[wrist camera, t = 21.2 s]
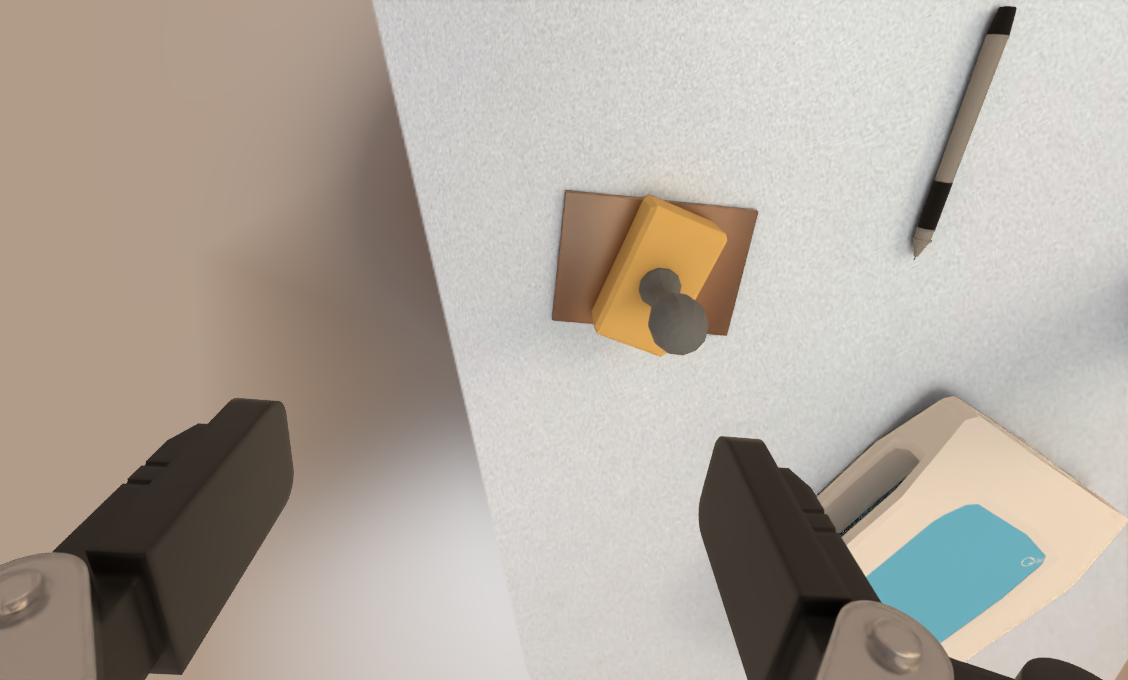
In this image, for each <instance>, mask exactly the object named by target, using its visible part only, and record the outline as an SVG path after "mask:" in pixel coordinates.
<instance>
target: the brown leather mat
mask: <svg viewBox="0 0 1128 680" xmlns="http://www.w3.org/2000/svg"><path fill="white" fill-rule="evenodd" d="M643 199H644V198H637V197H627V196H618V195H608V194H598V193H588V192H579V191H569V190H566V191H565V200H564V210H563V220H562V229H561V239H560V248H559V258H558V268H557V277H556V287H555V296H554V306H553V316H552V320H555V321H566V322H577V323H589V324H594V323H593V317H592V309H593V307H594V305H595V302H596V300H597V298H598V296H599V294H600V292H601V290H602V287H603V285H604V283H605V281H606V279H607V277H608V274H609V272H610V270H611V268H612V266H613V264H614V261H615V259H616V257H617V255H618V253H619V251H620V248H621V246H622V244H623V242H624V240H625V238H626V235H627V233H628V231H629V229H630V227H631V225H632V222H633V220H634V218H635V216H636V214H637V212H638V210H639V207H640V205H641V203H642V201H643ZM663 201H666V200H663ZM666 202H668V203H670V204H673V205H675V206H678V207H680V208H682V209H685V210H687V211H689V212H692V213H694V214H696V215H699V216H701V217H704V218H706V219H708V220H711V221H713V222H714V223H715V224H716V225H717V226H718V227H719V228H720V229H721V230H722V231H723V232H725V234H726V236H727V242H726V244H725V246H724V248H723V250H722V252H721V253H720V255H719V257H718V259H717V261H716V263H715V265H714V266H713V268H712V270H711V272H710V274H709V276H708V277H707V279H706V281H705V283H704V285H703V287H702V288H701V290H700V292H699V294H698V296H697V298H696V300H695V301H696V302H698V303H699V304H700V305H701V306H702V307H703V309H704V311H705V314H706V317H707V320H708V324H709V327H708V330H707V334H713V335H725V336H727V333H728V329H729V325H730V321H731V317H732V313H733V309H734V305H735V301H736V298H737V294H738V290H739V286H740V282H741V278H742V274H743V270H744V266H745V262H746V258H747V254H748V250H749V247H750V243H751V239H752V235H753V231H754V227H755V223H756V219H757V215H758V211H757V210H754V209H744V208H734V207H724V206H715V205H705V204H695V203H686V202H676V201H666Z"/></svg>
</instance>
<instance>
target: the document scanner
mask: <svg viewBox="0 0 1128 680" xmlns="http://www.w3.org/2000/svg"><path fill="white" fill-rule="evenodd" d="M906 476H907V477H906ZM905 477H906V478H905ZM904 478H905V480H904V481H903V482H902V483H901V484H900V485H899V486H898V488H897V489H896V490H895V491H894V492H892V493H891V494H890V495H889V496H888V497H887V498H886V499H884V500H883V501H882V502H881V503H880V504H879V505H878V506H877V507H875V508H874V509H873V510H872V511H871V512H870V513H869V514H867V515H866V516H865V517H864V518H863V519H862V520H861V521H859V522H858V523H857V524H856V525H855V526H854V527H853V528H851V529H850V530H849V531H848V532H847V533H846V534H845V535H843V536H842V539H843V541H844V542H845V544H846V546H847V547H848V549H849V550H850V552H851V554H852V555H853V557H854V559H855V560H856V562H857V563H858V565H859V567H860V568H861V570H862V571H863V573H864V575H865V576H866V578H867V580H868V581H869V583H870V584H871V586H872V588H873V589H874V591H875V593H876V594H877V596H878V597H879V599H880V601H881V602H882V603H883V604H886V605H889V606H892V607H894V608H896V609H898V610H900V611H902V612H904V613H906V614H907V615H909V616H911V617H912V618H914V619H915V620H916V621H918V622H919V623H920V624H922V625H923V626H924V627H925V628H926V629H928V630H929V631H930V632H931V633H932V634H933V635H934V636H935V638H936V639H937V640H938V641H939V642H940V644H941V645H942V646H943V648H944V649H945V651H946V653H947V654H948V656H949V657H951V658H953V659H956V660H959V661H962V662H965V661H966V660H968V659H969V658H971V657H972V656H974V655H975V654H977V653H978V652H979V651H981V650H982V649H984V648H985V647H987V646H988V645H990V644H991V643H993V642H994V641H995V640H997V639H998V638H1000V637H1001V636H1003V635H1004V634H1005V633H1007V632H1008V631H1010V630H1011V629H1013V628H1014V627H1016V626H1017V625H1018V624H1020V623H1021V622H1023V621H1024V620H1026V619H1027V618H1029V617H1030V616H1031V615H1033V614H1034V613H1036V612H1037V611H1039V610H1040V609H1042V608H1043V607H1044V606H1046V605H1047V604H1049V603H1050V602H1052V601H1053V600H1054V599H1056V598H1057V597H1059V596H1060V595H1062V594H1063V593H1065V592H1066V591H1067V590H1069V589H1070V588H1071V587H1072V586H1073V585H1074V584H1075V583H1076V582H1077V581H1078V580H1079V579H1080V577H1081V576H1082V575H1083V574H1084V573H1085V572H1086V570H1087V569H1088V568H1089V567H1090V566H1091V565H1092V563H1093V562H1094V561H1095V560H1096V559H1097V558H1098V557H1099V555H1100V554H1101V553H1102V552H1103V551H1104V550H1105V548H1106V547H1107V546H1108V545H1109V544H1110V543H1111V541H1112V540H1113V539H1114V538H1115V537H1116V536H1117V535H1118V533H1119V532H1120V531H1121V530H1122V529H1123V528H1124V526H1125V525H1126V523H1127V521H1128V518H1127V517H1125V516H1124V515H1123V514H1121V513H1120V512H1119V511H1118V510H1116V509H1115V508H1114V507H1113V506H1111V505H1110V504H1109V503H1107V502H1106V501H1105V500H1104V499H1102V498H1101V497H1100V496H1098V495H1097V494H1096V493H1094V492H1093V491H1091V490H1090V489H1088V488H1087V487H1086V486H1084V485H1083V484H1081V483H1080V482H1078V481H1077V480H1076V479H1074V478H1073V477H1071V476H1070V475H1069V474H1067V473H1066V472H1064V471H1063V470H1062V469H1060V468H1059V467H1057V466H1056V465H1055V464H1053V463H1052V462H1051V461H1049V460H1048V459H1047V458H1045V457H1044V456H1043V455H1041V454H1040V453H1038V452H1037V451H1035V450H1034V449H1033V448H1031V447H1030V446H1028V445H1027V444H1025V443H1024V442H1022V441H1021V440H1020V439H1018V438H1017V437H1015V436H1014V435H1012V434H1011V433H1009V432H1008V431H1007V430H1005V429H1004V428H1002V427H1001V426H999V425H998V424H997V423H995V422H994V421H992V420H991V419H989V418H988V417H986V416H985V415H983V414H982V413H980V412H979V411H977V410H976V409H974V408H973V407H971V406H970V405H968V404H967V403H965V402H963V401H962V400H960V399H959V398H957V397H956V396H952V397H947V398H944V399H941V400H939V401H938V402H936V403H935V404H933V405H932V406H930V407H929V408H927V409H926V410H924V411H923V412H921V413H920V414H918V415H916V416H915V417H913V418H912V419H910V420H909V421H907V422H906V423H904V424H903V425H901V426H900V427H898V428H897V429H895V430H894V431H892V432H891V433H889V434H887V435H886V436H884V437H883V438H881V439H880V440H878V441H877V442H875V443H874V444H873V445H872V446H871V447H870V448H869V449H868V450H867V451H866V452H865V453H864V454H862V455H861V456H860V457H859V458H858V459H857V460H856V461H855V462H854V463H853V464H852V465H851V466H849V467H848V468H847V469H846V470H845V471H844V472H843V473H842V474H841V475H840V476H839V477H838V478H837V479H835V480H834V481H833V482H832V483H831V484H830V485H829V486H828V487H827V488H826V489H825V490H824V491H823V492H822V493H820V494H819V495H818V496H817V499H818V500H819V502H820V503H821V505H822V507H823V508H824V513H825V514H827V515H828V516H829V518H830V520H831V521H832V523H833V524H834V526H835V528H836V533H839V534H840V533H841V532H842V531H843V530H845V529H846V528H847V527H848V526H849V525H850V524H851V523H852V522H854V521H855V520H856V519H857V518H858V517H859V516H860V515H862V514H863V513H864V512H865V511H866V510H867V509H868V508H869V507H871V506H872V505H873V504H874V503H875V502H876V501H878V500H879V499H880V498H881V497H882V496H884V495H885V494H886V493H887V492H888V491H890V490H891V489H892V488H893V487H894V486H896V485H897V484H898V483H899V482H900V481H902V480H903V479H904Z"/></svg>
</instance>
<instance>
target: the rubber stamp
mask: <svg viewBox="0 0 1128 680" xmlns="http://www.w3.org/2000/svg"><path fill="white" fill-rule="evenodd" d="M726 242H727V236H726V234H725V232H723V231H722V230H721V229H720V228H719V227H718V226H717V225H716V224H715V223H714V222H713V221H711V220H708V219H706V218H704V217H701V216H699V215H696V214H694V213H692V212H689V211H687V210H685V209H682V208H680V207H678V206H675V205H673V204H670V203H668V202H666V201H663V200H661V199H659V198H656V197H654V196H651V195H648V196H646V197H645V198H644V199H643V201H642V203H641V205H640V207H639V210H638V212H637V214H636V216H635V218H634V220H633V222H632V225H631V227H630V229H629V231H628V233H627V235H626V238H625V240H624V242H623V244H622V246H621V248H620V251H619V253H618V255H617V257H616V259H615V261H614V264H613V266H612V268H611V270H610V272H609V274H608V277H607V279H606V281H605V283H604V285H603V287H602V290H601V292H600V294H599V296H598V298H597V300H596V302H595V305H594V307H593V309H592V317H593V323H594V327H595V330H596V332H597V334H600V335H603V336H605V337H608V338H611V339H613V340H616V341H619V342H622V343H624V344H627V345H630V346H633V347H635V348H638V349H641V350H644V351H646V352H649V353H652V354H655V355H657V356H660V357H661V356H663V355H664V354H666V353H669V354H676V355H685V354H688V353H690V352H693V351H696V350H697V349H698V348H699V347H700V345H701V344H702V343H703V342H704V341H705V338H706V334H707V330H708V327H709V324H708V320H707V317H706V314H705V311H704V309H703V307H702V306H701V305H700V304H699V303H698V302H696V301H695V300H696V298H697V296H698V294H699V292H700V290H701V288H702V287H703V285H704V283H705V281H706V279H707V277H708V276H709V274H710V272H711V270H712V268H713V266H714V265H715V263H716V261H717V259H718V257H719V255H720V253H721V252H722V250H723V248H724V246H725V244H726Z"/></svg>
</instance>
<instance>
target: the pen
mask: <svg viewBox="0 0 1128 680" xmlns="http://www.w3.org/2000/svg"><path fill="white" fill-rule="evenodd" d="M1015 13H1016V7H1011V6H1004V7H999V9H998V11H997V13H996V15H995V17H994V19H993V21H992V24H991V26H990V28H989V30H988V32H987V34H986V36H985V40H984V43H983V46H982V49H981V52H980V54H979V57H978V60H977V63H976V66H975V68H974V71H973V74H972V77H971V80H970V82H969V85H968V88H967V91H966V94H965V96H964V99H963V102H962V105H961V108H960V110H959V113H958V116H957V119H956V122H955V124H954V127H953V130H952V133H951V136H950V138H949V141H948V144H947V147H946V150H945V152H944V155H943V158H942V161H941V164H940V166H939V169H938V172H937V175H936V178H935V180H934V182H933V184H932V187H931V190H930V193H929V195H928V198H927V201H926V204H925V206H924V209H923V212H922V215H921V217H920V220H919V223H918V226H917V227H916V228H917V230H916V232H915V235H914V236H913V237H912V239H913V245H914V256H915V257H917V256H918V255H919V254H920V253H921V252H922V251H923V250H924V248H925V247H926V246H927V245H928V244H929V243H931V242H932V240H931V238H932V235H933V233H934V231H935V229H936V226H937V223H938V221H939V218H940V215H941V213H942V210H943V208H944V205H945V202H946V200H947V197H948V194H949V192H950V189H951V186H952V184H953V183H952V182H953V180H954V177H955V175H956V172H957V169H958V167H959V164H960V162H961V159H962V157H963V154H964V151H965V149H966V146H967V144H968V141H969V138H970V136H971V133H972V131H973V128H974V125H975V123H976V120H977V118H978V115H979V112H980V110H981V107H982V105H983V102H984V99H985V97H986V94H987V92H988V89H989V86H990V84H991V81H992V79H993V76H994V73H995V71H996V68H997V66H998V63H999V61H1000V58H1001V55H1002V53H1003V50H1004V48H1005V45H1006V42H1007V40H1008V38H1009V35H1010V31H1011V28H1012V24H1013V20H1014V16H1015ZM914 260H915V258H914Z"/></svg>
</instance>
